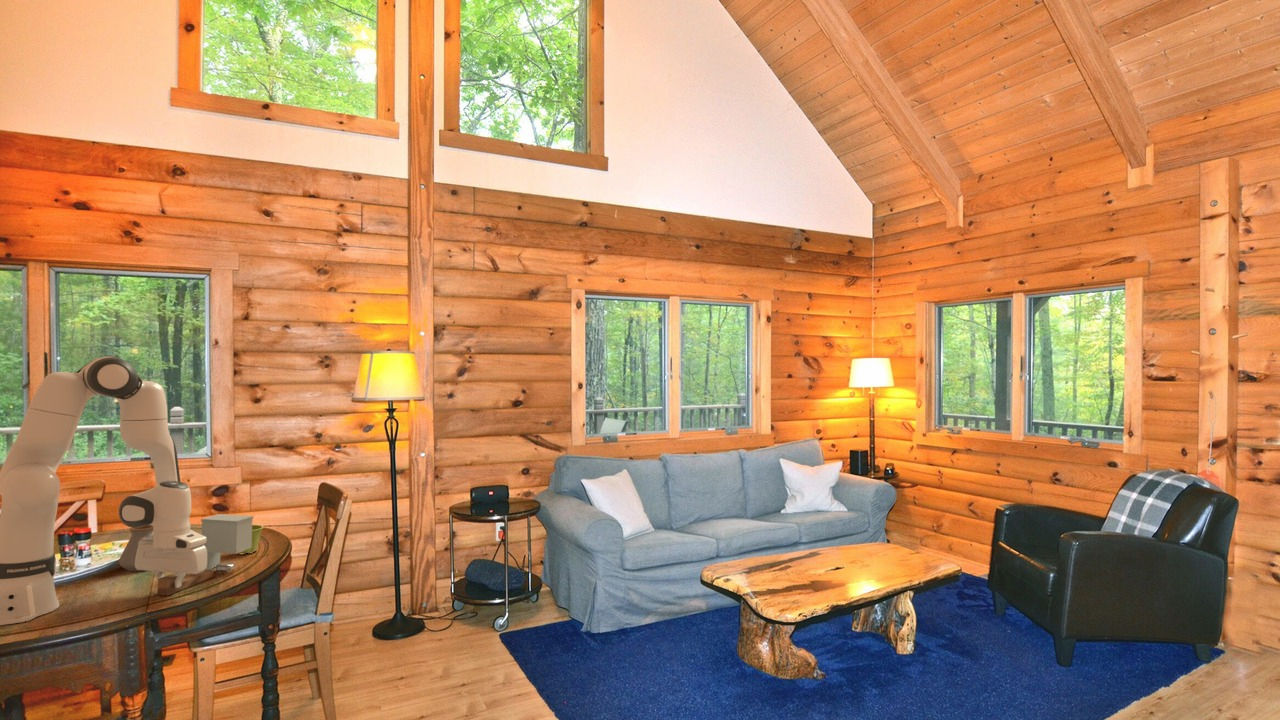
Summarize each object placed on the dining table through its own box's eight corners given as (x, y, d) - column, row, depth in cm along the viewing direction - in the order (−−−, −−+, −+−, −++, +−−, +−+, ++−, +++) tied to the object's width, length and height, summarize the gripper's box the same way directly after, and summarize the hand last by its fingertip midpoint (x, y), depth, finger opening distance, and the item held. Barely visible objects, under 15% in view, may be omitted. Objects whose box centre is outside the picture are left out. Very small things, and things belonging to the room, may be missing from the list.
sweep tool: (167, 595, 189) (167, 579, 189) (157, 594, 189) (158, 579, 189) (213, 576, 206) (214, 562, 206) (204, 576, 206) (205, 561, 207)
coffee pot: (156, 571, 211) (157, 523, 211) (112, 574, 206) (113, 525, 207) (176, 553, 231) (177, 509, 231) (136, 555, 226) (137, 511, 227)
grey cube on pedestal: (235, 574, 209) (237, 521, 209) (199, 572, 211) (201, 519, 211) (251, 567, 217) (253, 516, 217) (216, 565, 218) (218, 514, 218)
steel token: (217, 574, 210) (217, 568, 210) (214, 570, 213) (214, 564, 213) (235, 571, 213) (235, 565, 213) (232, 567, 217) (232, 561, 217)
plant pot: (241, 548, 238) (242, 524, 238) (267, 549, 238) (268, 524, 238) (225, 555, 229) (226, 530, 229) (252, 556, 229) (253, 531, 229)
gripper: (129, 539, 190) (127, 587, 190) (195, 543, 187) (193, 592, 187) (148, 533, 196) (146, 580, 196) (212, 537, 194) (210, 585, 193)
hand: (169, 586), depth 191 cm, fingers closed on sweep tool, 3 cm apart
